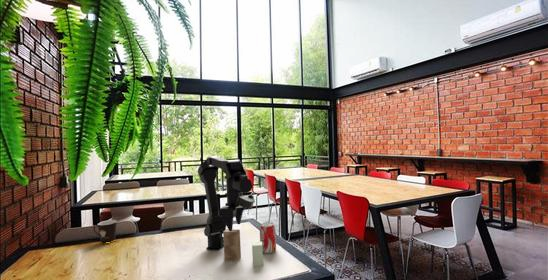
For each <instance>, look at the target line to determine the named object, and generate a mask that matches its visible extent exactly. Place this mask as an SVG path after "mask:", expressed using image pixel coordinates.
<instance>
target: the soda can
mask: <svg viewBox="0 0 548 280" xmlns="http://www.w3.org/2000/svg"><path fill="white" fill-rule="evenodd" d="M259 242H262V252H263V253H264V254H272V253H274V252H275V251H276V250H277V233H276V227H275V224H274V223H273V222H262V223H261V224H260V227H259Z"/></svg>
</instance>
